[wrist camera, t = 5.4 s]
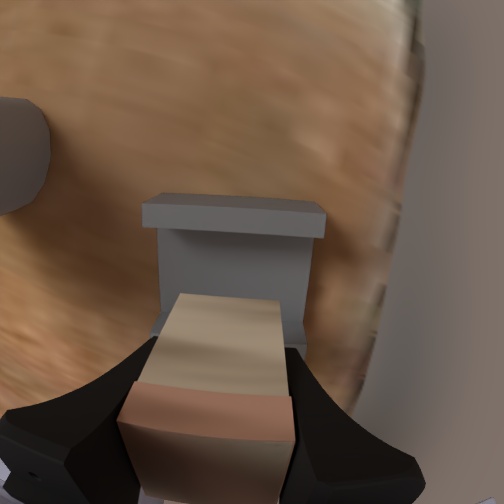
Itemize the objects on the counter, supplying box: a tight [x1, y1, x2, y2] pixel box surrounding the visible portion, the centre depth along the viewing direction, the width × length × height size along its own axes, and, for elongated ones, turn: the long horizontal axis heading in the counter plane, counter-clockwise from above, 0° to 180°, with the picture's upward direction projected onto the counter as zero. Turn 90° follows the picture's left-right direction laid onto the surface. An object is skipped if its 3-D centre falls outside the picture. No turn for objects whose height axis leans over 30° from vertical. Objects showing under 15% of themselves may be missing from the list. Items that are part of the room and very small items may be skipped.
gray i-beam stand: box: [142, 193, 327, 361], centre depth 19 cm, size 16×9×4 cm, turn 177°
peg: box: [116, 293, 295, 504], centre depth 10 cm, size 4×4×7 cm
